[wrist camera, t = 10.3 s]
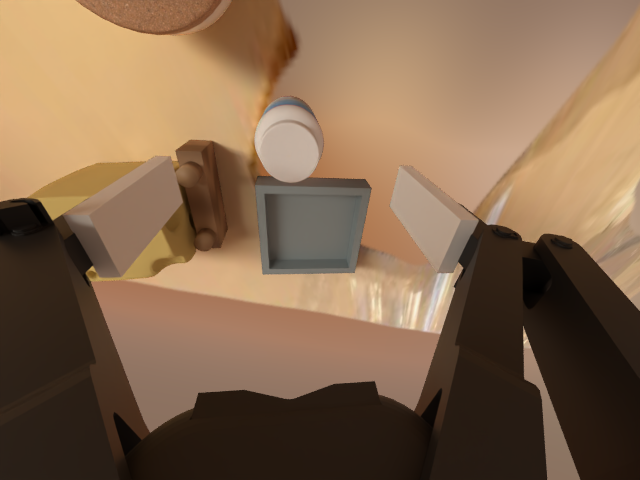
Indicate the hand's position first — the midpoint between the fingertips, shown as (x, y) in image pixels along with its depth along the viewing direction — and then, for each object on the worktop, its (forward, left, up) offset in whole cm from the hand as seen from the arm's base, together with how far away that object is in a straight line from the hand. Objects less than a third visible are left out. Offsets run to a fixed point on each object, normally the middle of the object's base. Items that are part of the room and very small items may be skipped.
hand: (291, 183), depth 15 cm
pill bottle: (0, 0, -17) cm, 17 cm away
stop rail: (+8, -10, -17) cm, 21 cm away
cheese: (+9, -17, -17) cm, 26 cm away
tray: (+13, +3, -17) cm, 21 cm away
